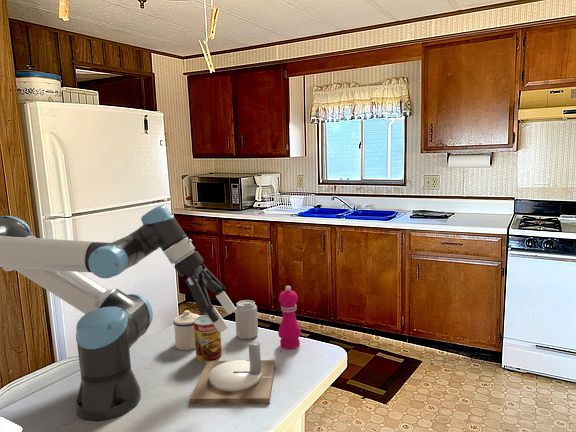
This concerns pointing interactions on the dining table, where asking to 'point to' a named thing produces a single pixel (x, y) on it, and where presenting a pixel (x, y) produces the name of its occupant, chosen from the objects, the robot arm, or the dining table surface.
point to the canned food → (206, 340)
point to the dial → (238, 372)
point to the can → (246, 319)
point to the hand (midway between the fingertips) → (228, 320)
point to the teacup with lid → (185, 330)
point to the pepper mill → (289, 320)
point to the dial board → (253, 395)
